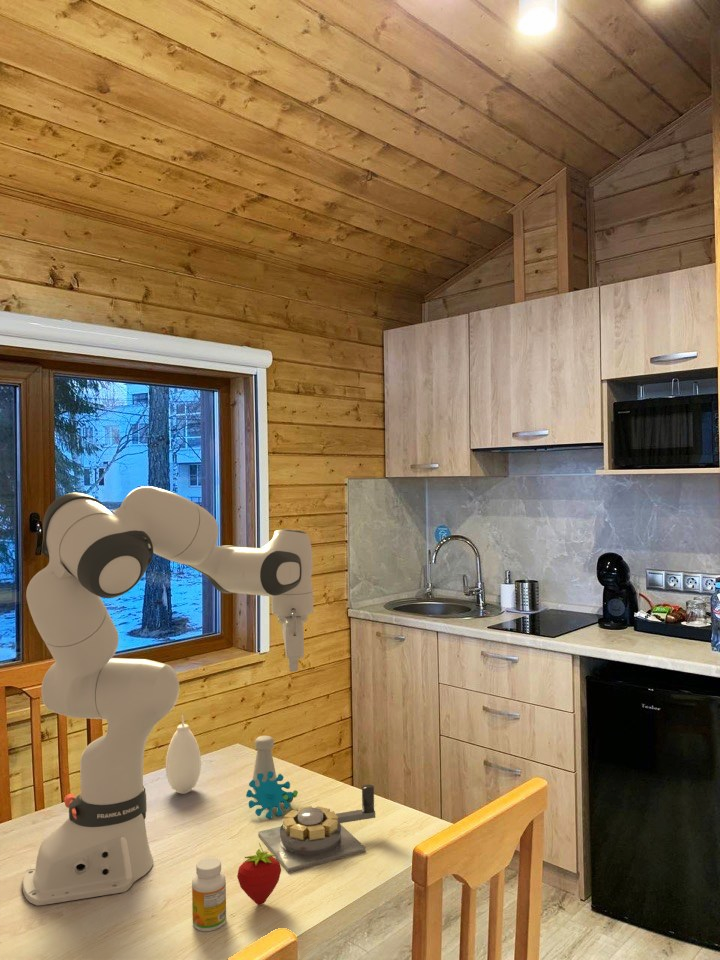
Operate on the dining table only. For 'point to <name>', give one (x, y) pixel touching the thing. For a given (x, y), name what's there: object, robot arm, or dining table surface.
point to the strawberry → (259, 876)
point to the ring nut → (329, 818)
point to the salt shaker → (264, 759)
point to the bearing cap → (310, 843)
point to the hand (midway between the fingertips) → (293, 669)
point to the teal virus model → (270, 795)
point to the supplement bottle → (208, 895)
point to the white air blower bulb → (183, 760)
